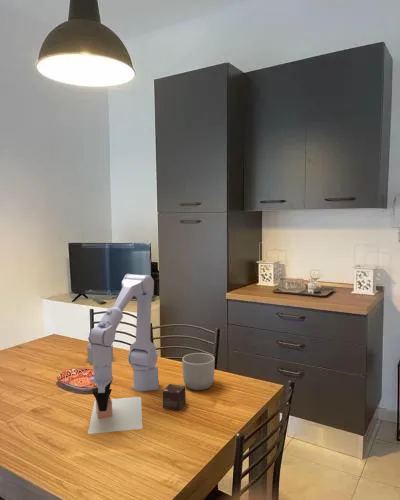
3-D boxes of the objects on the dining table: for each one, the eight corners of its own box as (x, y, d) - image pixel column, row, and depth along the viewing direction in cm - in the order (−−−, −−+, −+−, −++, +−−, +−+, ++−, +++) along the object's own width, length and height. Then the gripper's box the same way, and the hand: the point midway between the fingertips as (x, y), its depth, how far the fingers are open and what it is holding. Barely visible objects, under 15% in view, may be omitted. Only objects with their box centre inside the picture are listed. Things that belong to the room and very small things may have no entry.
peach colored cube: (96, 412, 131) (95, 398, 131) (109, 410, 133) (109, 396, 132) (98, 419, 127) (97, 404, 127) (112, 416, 129) (111, 401, 128)
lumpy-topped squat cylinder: (92, 366, 176) (92, 346, 175) (84, 357, 187) (83, 339, 186) (115, 361, 182) (115, 342, 181) (105, 353, 192) (105, 335, 192)
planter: (178, 390, 150) (177, 362, 149) (188, 378, 162) (187, 351, 161) (210, 394, 147) (210, 365, 146) (218, 381, 159) (217, 354, 158)
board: (141, 399, 143) (140, 387, 142) (142, 432, 121) (142, 417, 121) (94, 403, 140) (94, 390, 140) (87, 437, 119) (87, 422, 118)
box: (186, 406, 138) (185, 385, 137) (179, 414, 132) (179, 393, 131) (169, 404, 140) (169, 383, 139) (162, 412, 134) (162, 390, 133)
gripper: (92, 357, 135) (93, 396, 136) (87, 373, 121) (88, 417, 122) (113, 355, 136) (114, 394, 137) (111, 371, 122) (112, 415, 123)
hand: (103, 405), depth 130 cm, fingers open, 7 cm apart
